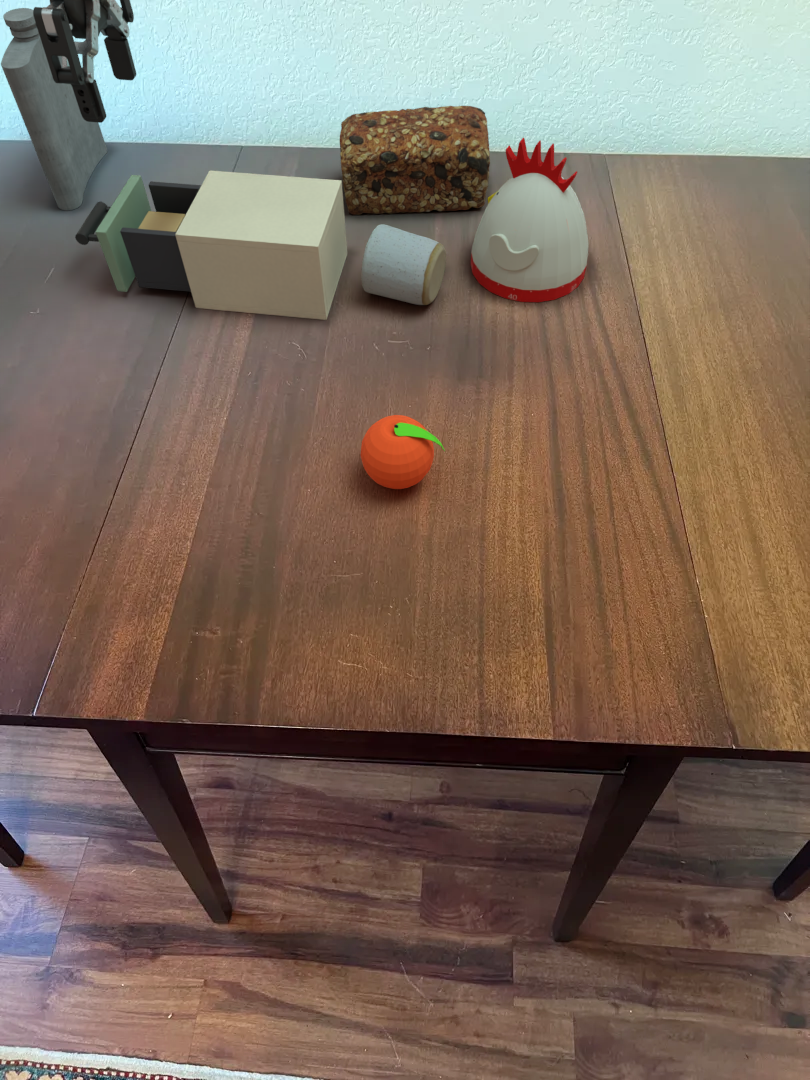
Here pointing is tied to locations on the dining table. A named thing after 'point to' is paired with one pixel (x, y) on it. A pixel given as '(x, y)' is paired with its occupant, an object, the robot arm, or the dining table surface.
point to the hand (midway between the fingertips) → (111, 98)
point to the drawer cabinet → (264, 244)
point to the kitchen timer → (531, 232)
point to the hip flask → (50, 113)
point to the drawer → (140, 235)
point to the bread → (415, 160)
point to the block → (162, 221)
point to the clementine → (397, 451)
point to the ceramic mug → (403, 265)
